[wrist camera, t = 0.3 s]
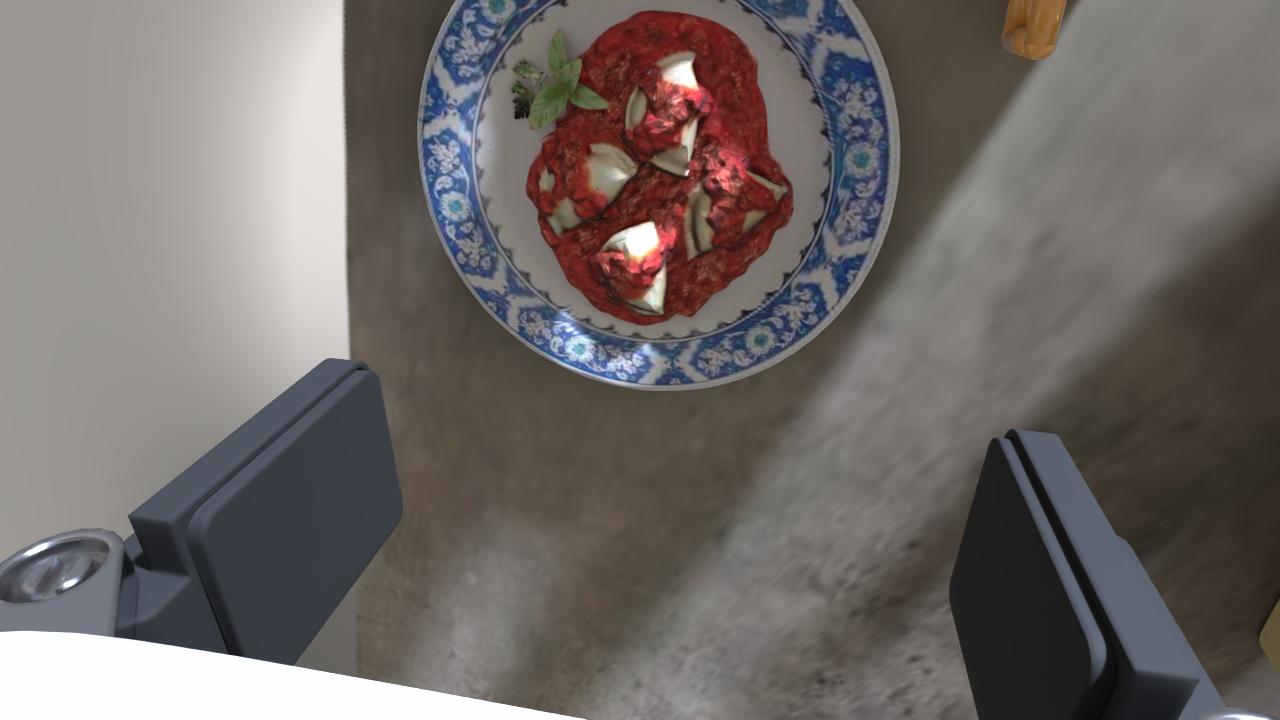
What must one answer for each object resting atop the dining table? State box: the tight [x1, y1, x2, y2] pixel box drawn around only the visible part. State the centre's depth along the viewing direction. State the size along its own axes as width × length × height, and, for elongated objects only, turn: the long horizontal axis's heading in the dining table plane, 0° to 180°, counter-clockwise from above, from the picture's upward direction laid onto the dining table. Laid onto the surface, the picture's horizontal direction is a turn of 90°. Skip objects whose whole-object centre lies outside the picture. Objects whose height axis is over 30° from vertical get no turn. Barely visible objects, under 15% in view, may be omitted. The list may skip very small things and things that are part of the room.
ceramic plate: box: [417, 0, 900, 391], centre depth 38 cm, size 26×26×3 cm
